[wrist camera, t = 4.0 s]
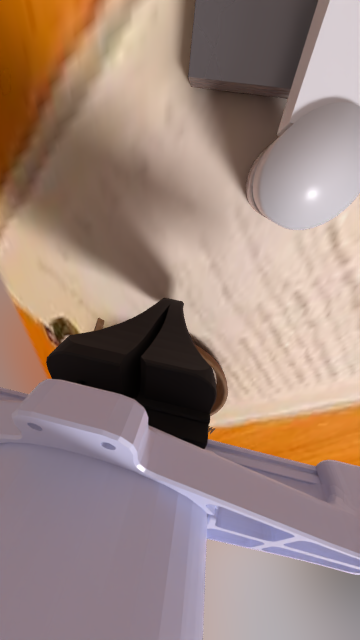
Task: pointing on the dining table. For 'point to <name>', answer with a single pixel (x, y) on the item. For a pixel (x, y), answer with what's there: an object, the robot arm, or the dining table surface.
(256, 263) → the dining table surface
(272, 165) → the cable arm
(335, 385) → the dining table surface
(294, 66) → the grey flat block
